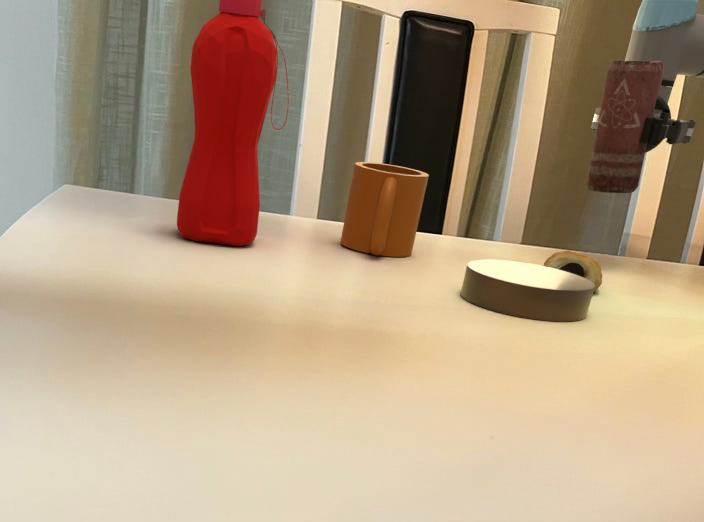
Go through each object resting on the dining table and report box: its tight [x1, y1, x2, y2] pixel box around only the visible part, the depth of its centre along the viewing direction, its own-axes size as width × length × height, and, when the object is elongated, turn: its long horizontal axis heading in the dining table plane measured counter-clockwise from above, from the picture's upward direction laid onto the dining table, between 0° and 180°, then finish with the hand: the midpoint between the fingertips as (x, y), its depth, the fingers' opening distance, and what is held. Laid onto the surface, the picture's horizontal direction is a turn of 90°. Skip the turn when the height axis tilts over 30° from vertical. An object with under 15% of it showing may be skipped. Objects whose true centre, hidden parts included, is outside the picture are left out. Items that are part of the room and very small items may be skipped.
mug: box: [340, 161, 430, 258], centre depth 118 cm, size 9×12×9 cm
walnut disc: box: [460, 259, 595, 323], centre depth 104 cm, size 13×13×3 cm
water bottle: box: [176, 0, 290, 247], centre depth 110 cm, size 9×11×25 cm
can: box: [586, 60, 664, 194], centre depth 122 cm, size 6×6×14 cm
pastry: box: [543, 250, 603, 292], centre depth 115 cm, size 9×7×4 cm
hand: (651, 131), depth 119 cm, fingers closed on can
